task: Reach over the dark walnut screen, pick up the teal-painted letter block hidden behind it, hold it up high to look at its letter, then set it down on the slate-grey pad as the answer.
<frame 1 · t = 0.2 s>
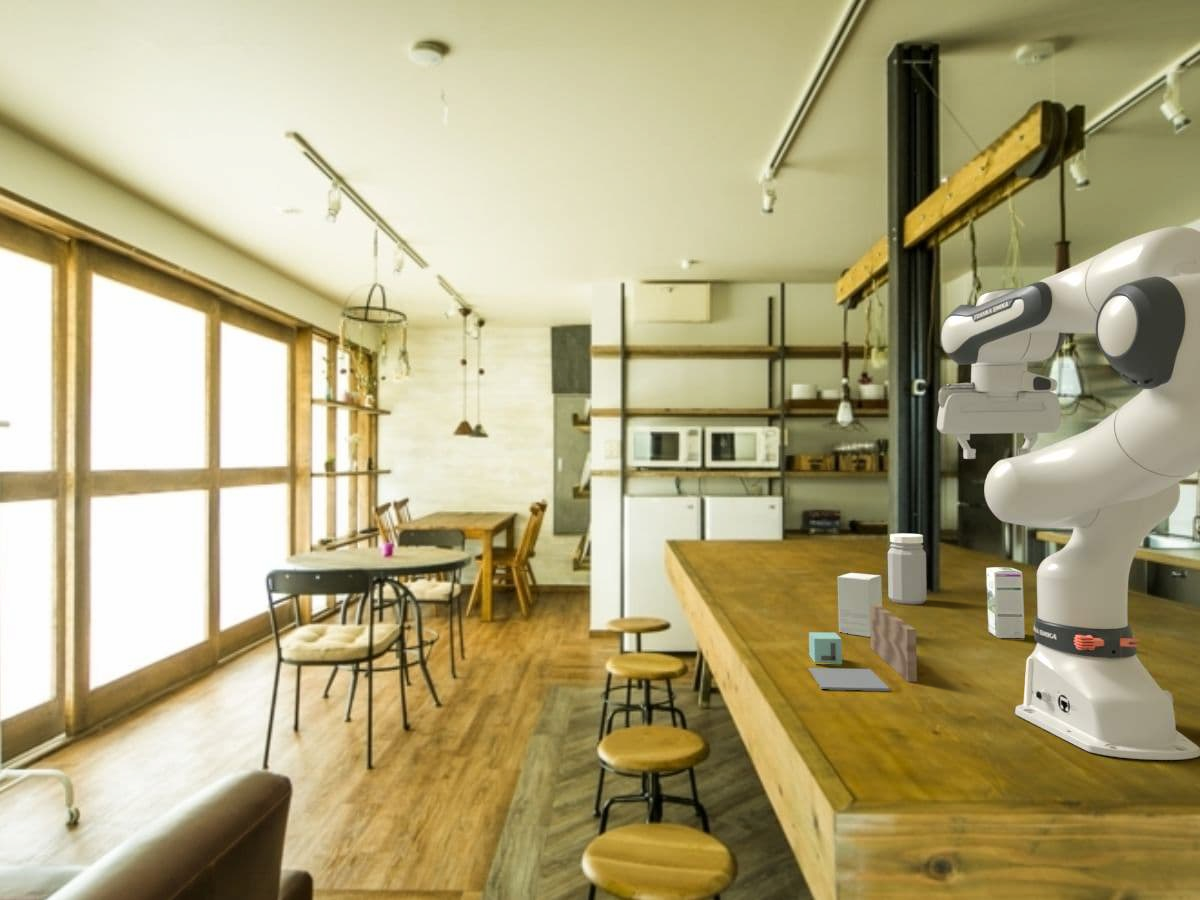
hand: (996, 458, 129), 38 cm above the table, tool pointing down, fingers open, 8 cm apart
slate pad: (846, 680, 123), on the table
syrup box: (1005, 636, 153), on the table
walnut screen: (891, 663, 133), on the table
jar: (907, 602, 192), on the table
supplement box: (860, 633, 158), on the table
letter block: (825, 661, 135), on the table
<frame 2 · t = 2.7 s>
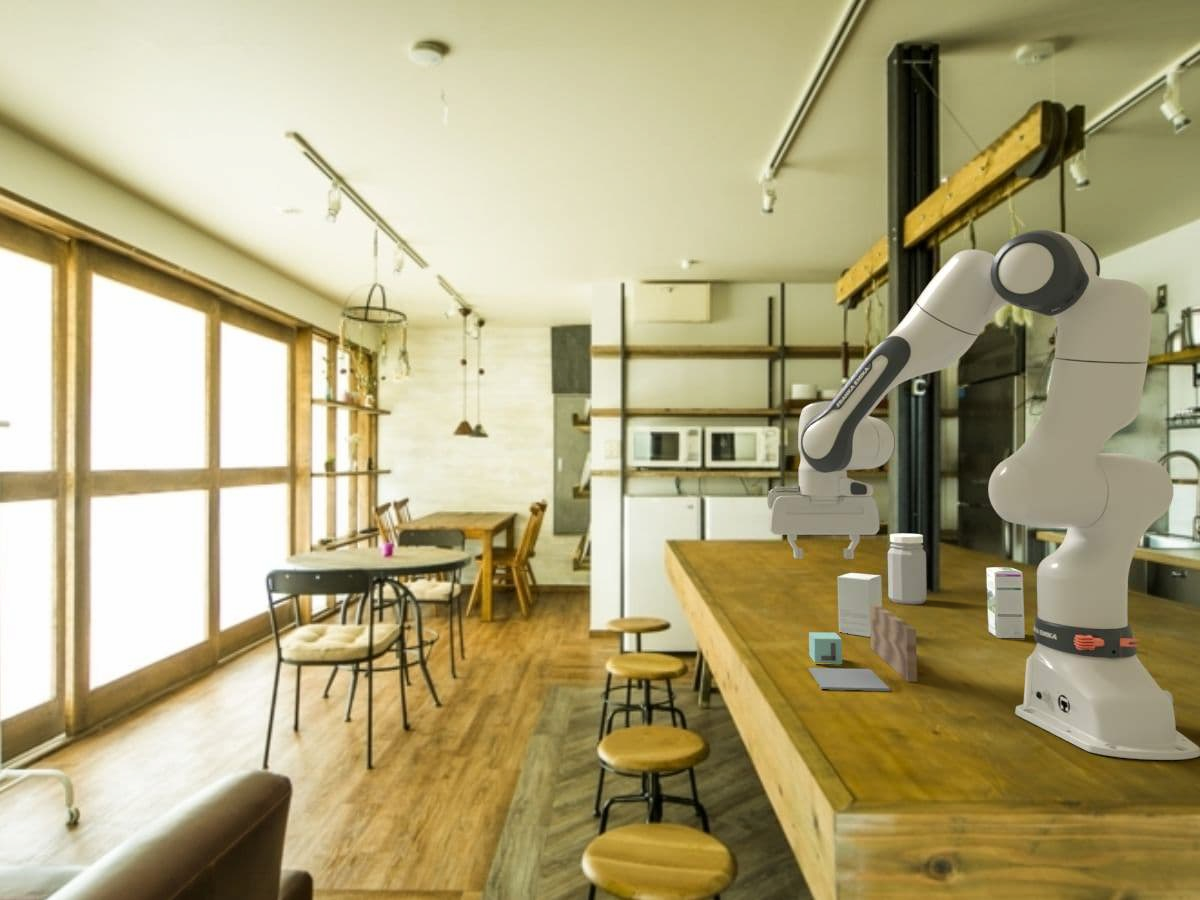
hand: (823, 558, 136), 20 cm above the table, tool pointing down, fingers open, 8 cm apart
nothing on the table moved.
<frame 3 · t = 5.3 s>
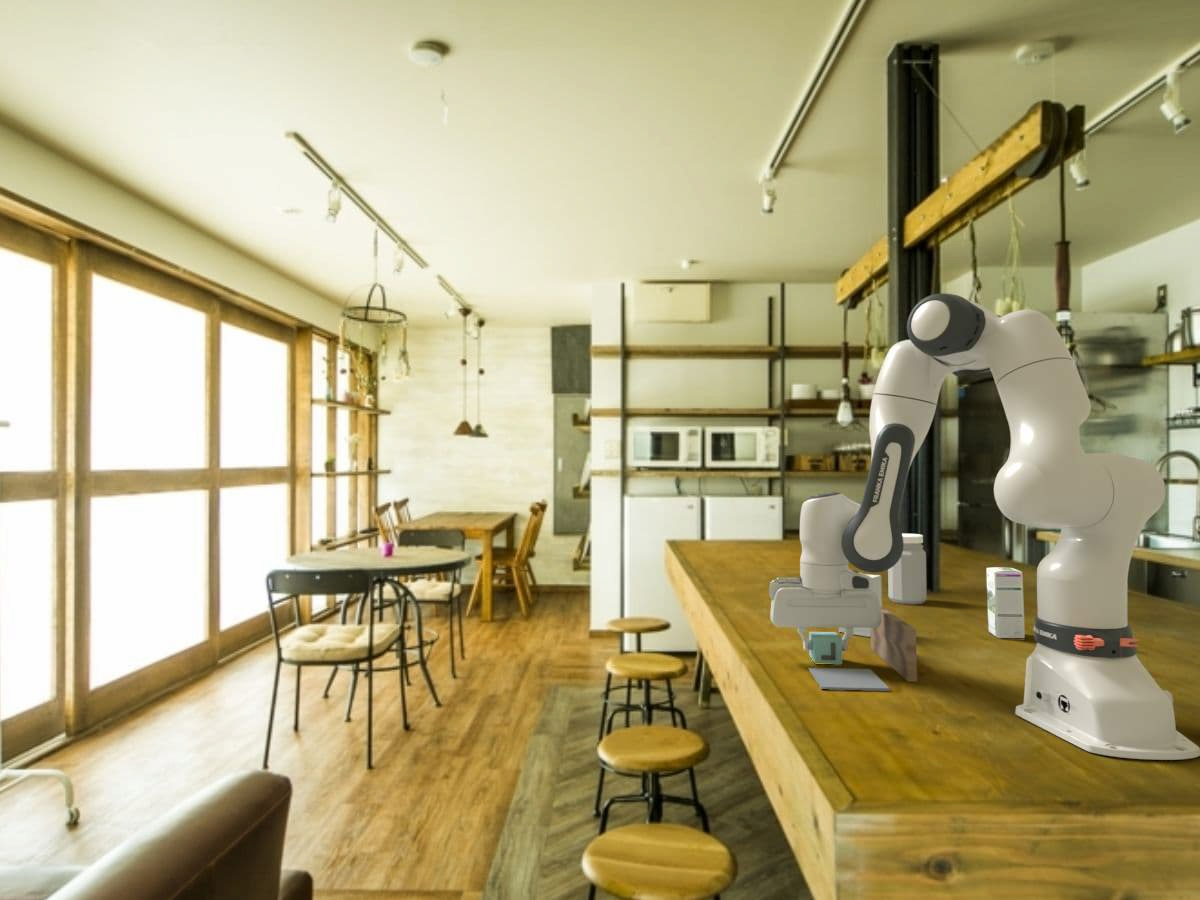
hand: (825, 650, 135), 2 cm above the table, tool pointing down, fingers closed on letter block, 5 cm apart
letter block: (825, 661, 135), on the table, touching gripper
everything else where it was.
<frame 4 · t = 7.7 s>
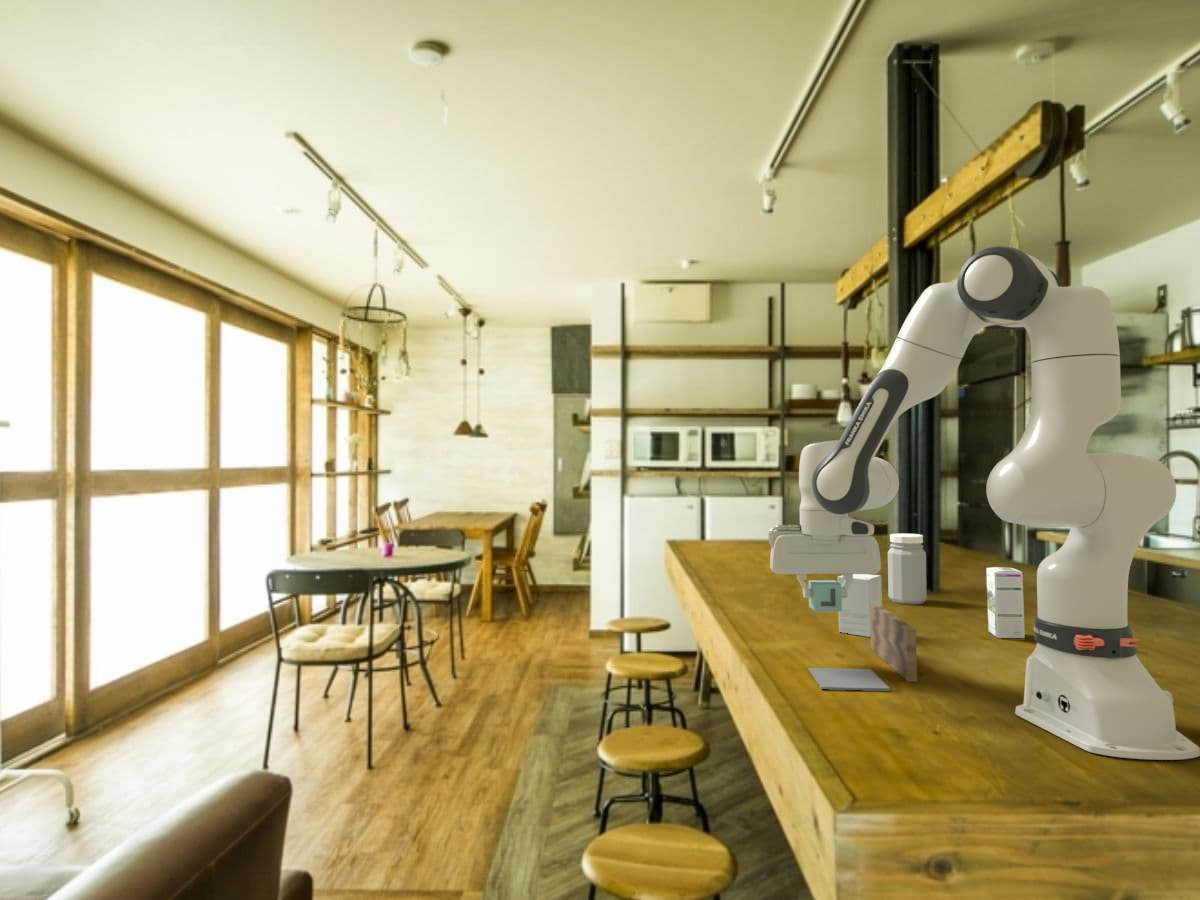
hand: (825, 597, 135), 12 cm above the table, tool pointing down, fingers closed on letter block, 5 cm apart
letter block: (825, 608, 135), point 10 cm above the table, touching gripper
everything else where it was.
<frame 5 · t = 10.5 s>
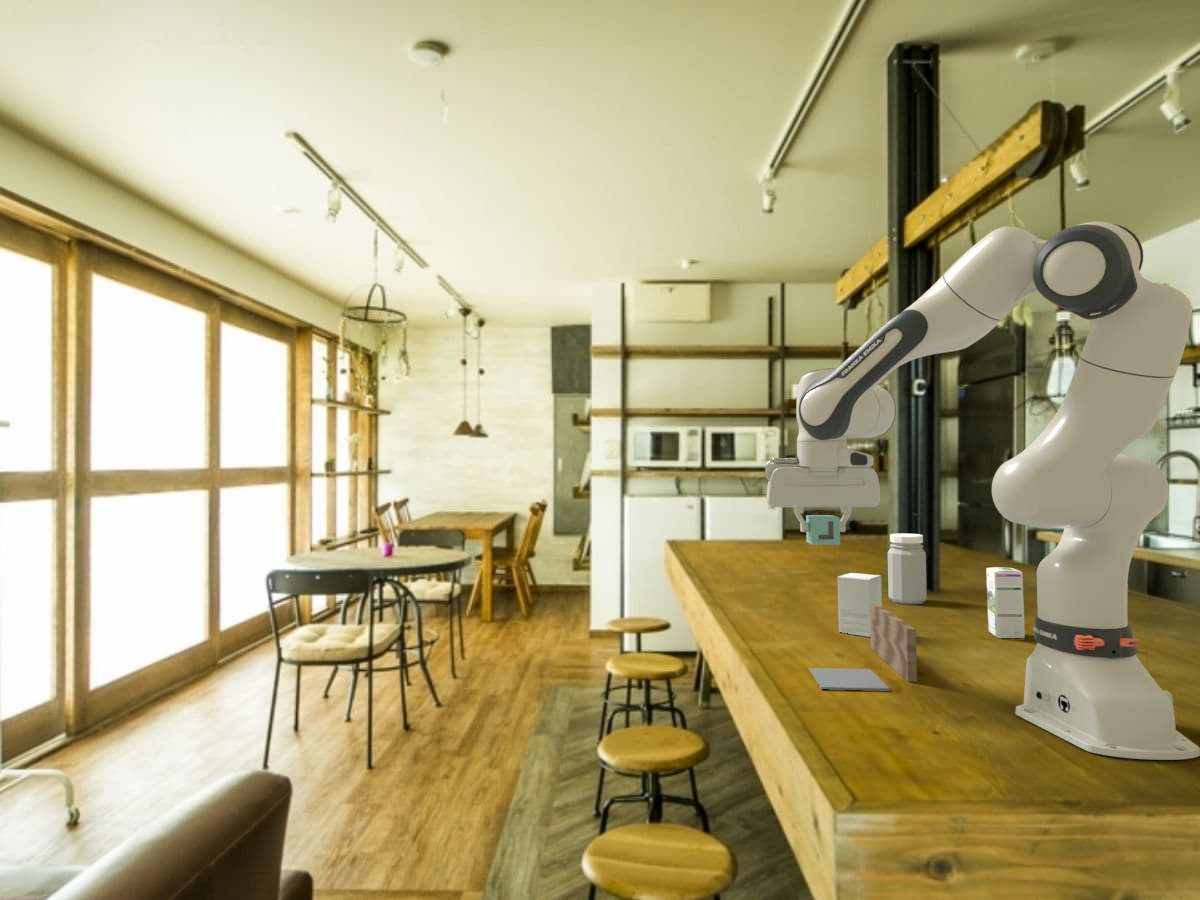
hand: (822, 531, 132), 25 cm above the table, tool pointing down, fingers closed on letter block, 5 cm apart
letter block: (822, 543, 132), point 23 cm above the table, touching gripper
everything else where it was.
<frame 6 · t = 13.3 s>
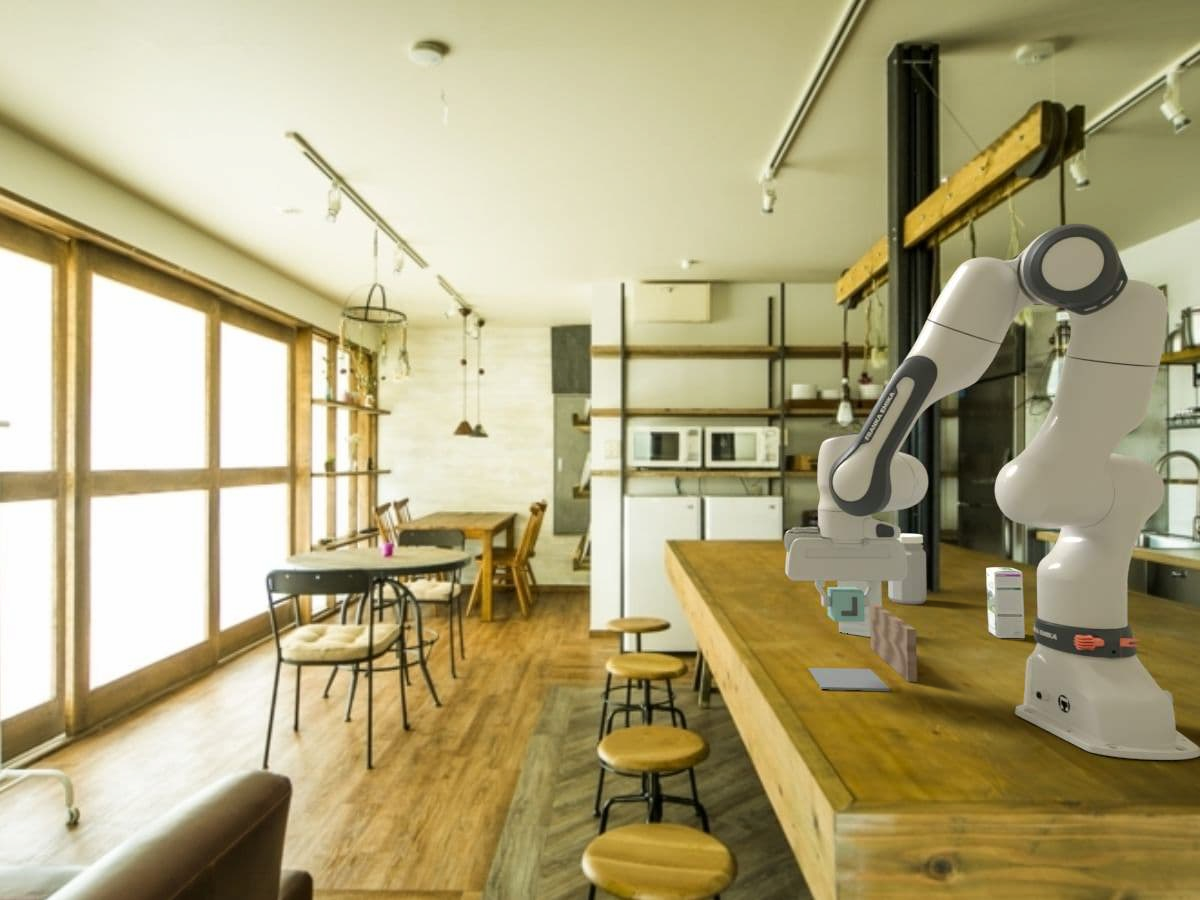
hand: (845, 606, 124), 13 cm above the table, tool pointing down, fingers closed on letter block, 5 cm apart
letter block: (845, 618, 124), point 11 cm above the table, touching gripper
everything else where it was.
when the fingers open (4 cm above the table, at t = 15.8 s): letter block stays where it is, resting on slate pad.
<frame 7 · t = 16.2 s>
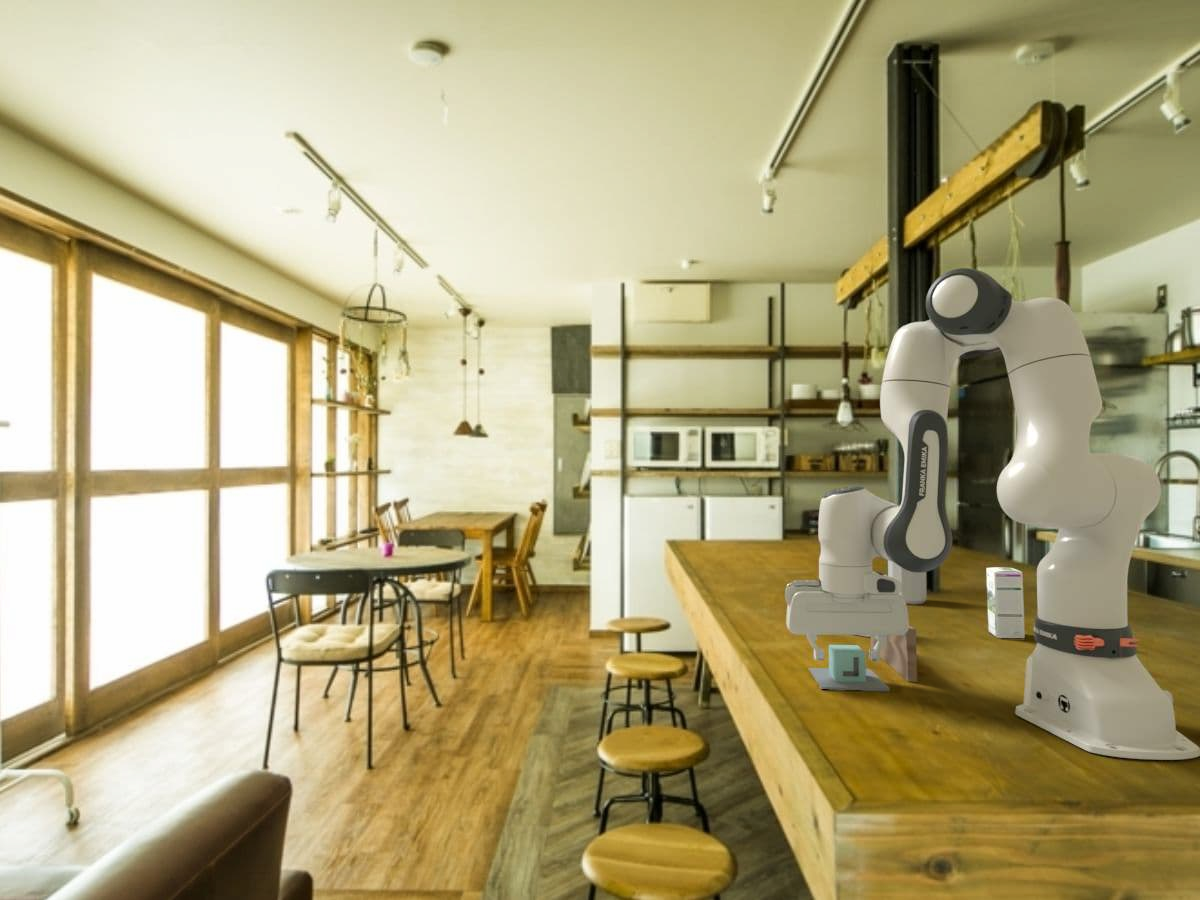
hand: (846, 659, 123), 4 cm above the table, tool pointing down, fingers open, 8 cm apart
letter block: (847, 677, 123), resting on slate pad
everything else where it was.
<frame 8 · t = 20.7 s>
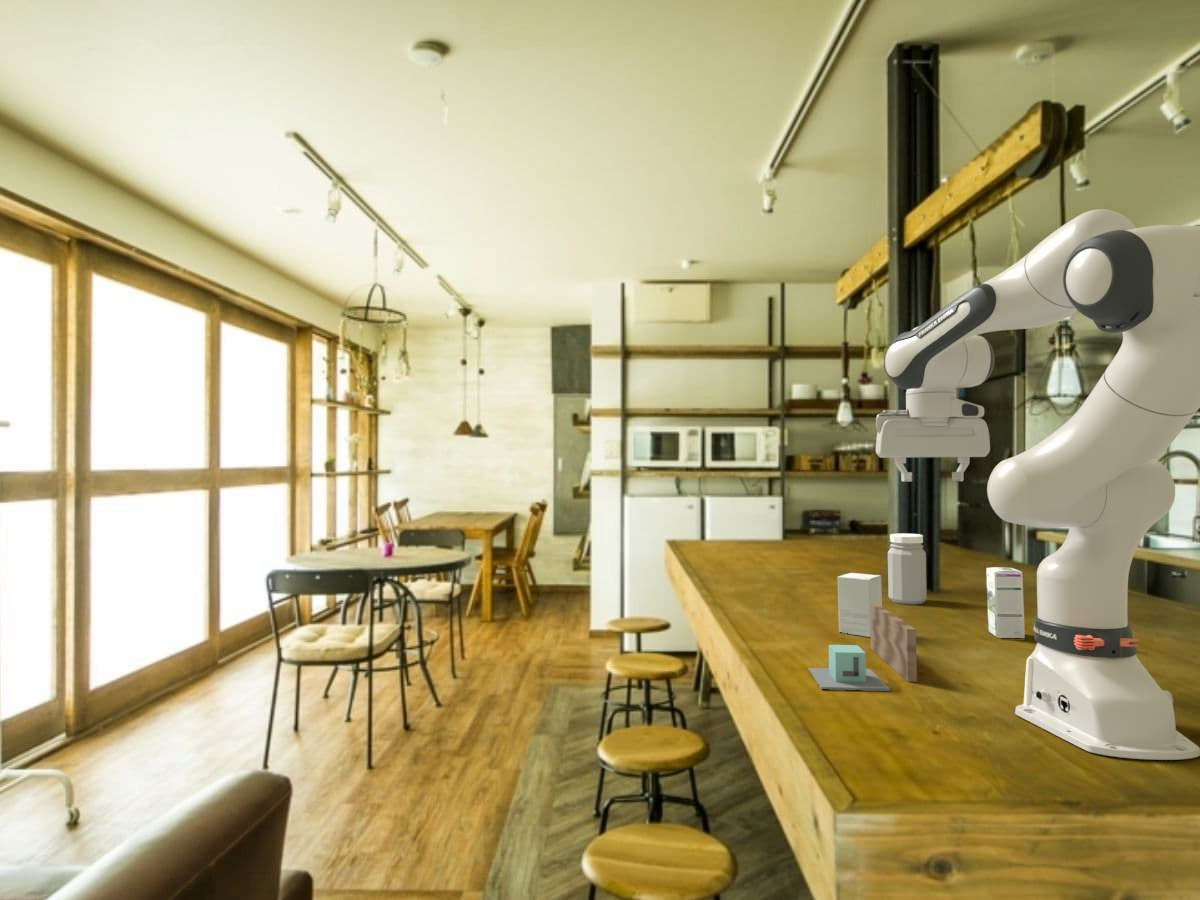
hand: (932, 481, 136), 34 cm above the table, tool pointing down, fingers open, 8 cm apart
nothing on the table moved.
at the end: letter block inside the target area on the slate pad (0.1 cm from its centre), point 0.5 cm above the slate pad's base; letter block tilted 0°; the gripper is holding nothing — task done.
